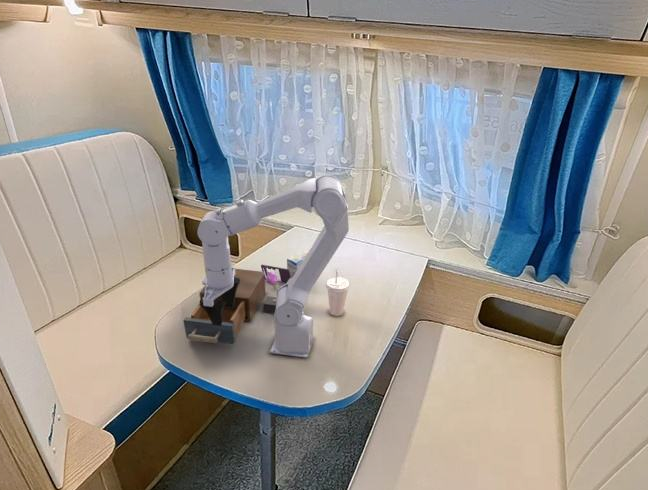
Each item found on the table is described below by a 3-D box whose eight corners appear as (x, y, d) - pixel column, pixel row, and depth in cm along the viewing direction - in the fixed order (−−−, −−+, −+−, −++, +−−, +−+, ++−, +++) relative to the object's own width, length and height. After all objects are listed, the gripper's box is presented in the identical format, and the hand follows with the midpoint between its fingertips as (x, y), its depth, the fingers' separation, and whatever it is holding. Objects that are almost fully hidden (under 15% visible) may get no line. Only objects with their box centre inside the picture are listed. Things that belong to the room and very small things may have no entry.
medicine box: (304, 274, 140) (304, 250, 136) (314, 278, 138) (314, 254, 133) (286, 283, 135) (286, 258, 130) (297, 288, 133) (297, 263, 128)
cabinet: (250, 321, 117) (248, 298, 113) (202, 316, 118) (199, 292, 114) (265, 293, 129) (264, 271, 125) (222, 288, 130) (219, 266, 126)
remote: (267, 304, 124) (267, 295, 123) (294, 307, 124) (294, 298, 122) (263, 312, 121) (263, 303, 119) (291, 315, 120) (291, 306, 119)
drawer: (228, 355, 103) (226, 336, 100) (179, 349, 104) (175, 330, 101) (250, 314, 118) (249, 296, 115) (207, 308, 119) (205, 291, 116)
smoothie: (321, 308, 124) (323, 265, 116) (342, 303, 126) (344, 261, 118) (330, 320, 119) (332, 276, 111) (351, 315, 121) (354, 272, 114)
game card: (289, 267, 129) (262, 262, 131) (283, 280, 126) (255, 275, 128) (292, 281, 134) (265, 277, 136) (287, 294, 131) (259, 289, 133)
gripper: (213, 249, 102) (218, 296, 109) (186, 279, 90) (194, 330, 97) (242, 252, 101) (245, 300, 109) (218, 283, 89) (224, 334, 96)
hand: (223, 315), depth 103 cm, fingers open, 7 cm apart
